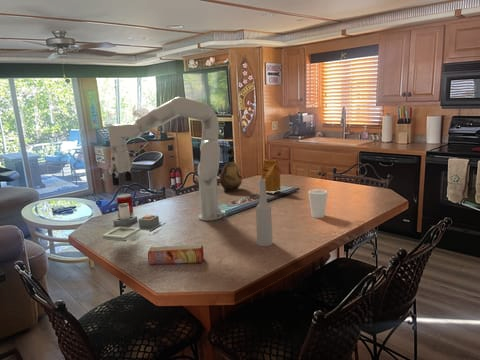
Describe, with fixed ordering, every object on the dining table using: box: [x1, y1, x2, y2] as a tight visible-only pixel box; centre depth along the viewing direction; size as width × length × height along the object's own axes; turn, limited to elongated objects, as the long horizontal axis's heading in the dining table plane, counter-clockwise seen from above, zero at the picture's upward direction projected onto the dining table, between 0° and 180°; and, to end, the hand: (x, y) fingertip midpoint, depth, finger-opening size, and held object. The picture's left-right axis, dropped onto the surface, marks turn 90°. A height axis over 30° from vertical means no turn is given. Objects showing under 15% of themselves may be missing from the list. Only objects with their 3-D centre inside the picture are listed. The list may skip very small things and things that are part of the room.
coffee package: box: [260, 158, 281, 191], centre depth 238 cm, size 10×12×22 cm
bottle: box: [255, 178, 273, 247], centre depth 151 cm, size 7×7×28 cm
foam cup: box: [308, 188, 328, 219], centre depth 185 cm, size 10×9×13 cm
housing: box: [112, 214, 163, 233], centre depth 184 cm, size 23×10×6 cm, turn 69°
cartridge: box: [117, 203, 131, 221], centre depth 186 cm, size 5×5×10 cm
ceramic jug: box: [219, 146, 243, 192], centre depth 249 cm, size 17×15×30 cm
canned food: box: [116, 193, 134, 213], centre depth 207 cm, size 8×8×11 cm
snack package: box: [147, 243, 204, 265], centre depth 140 cm, size 21×7×7 cm, turn 88°
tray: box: [102, 226, 141, 243], centre depth 172 cm, size 12×12×2 cm
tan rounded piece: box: [143, 214, 153, 219], centre depth 181 cm, size 4×4×4 cm
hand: (122, 183), depth 182 cm, fingers open, 9 cm apart
